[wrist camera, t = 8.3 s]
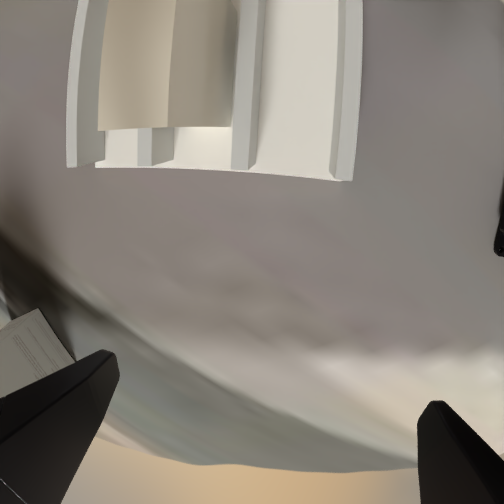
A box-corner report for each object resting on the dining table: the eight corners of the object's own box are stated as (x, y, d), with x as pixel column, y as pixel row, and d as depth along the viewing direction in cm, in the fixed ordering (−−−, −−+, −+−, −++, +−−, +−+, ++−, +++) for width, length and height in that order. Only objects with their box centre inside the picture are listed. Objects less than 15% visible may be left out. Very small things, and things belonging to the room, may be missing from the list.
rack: (349, -9, 13) (361, -37, 9) (339, 178, 18) (350, 191, 14) (114, 1, 15) (81, -15, 11) (103, 165, 19) (67, 176, 16)
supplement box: (9, 319, 27) (-60, 384, 15) (39, 306, 25) (-45, 384, 14) (44, 371, 29) (-13, 442, 18) (80, 366, 27) (14, 453, 16)
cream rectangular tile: (237, 12, 14) (187, -70, 6) (230, 127, 16) (167, 127, 8) (196, 14, 14) (120, -54, 6) (188, 126, 17) (97, 131, 8)
